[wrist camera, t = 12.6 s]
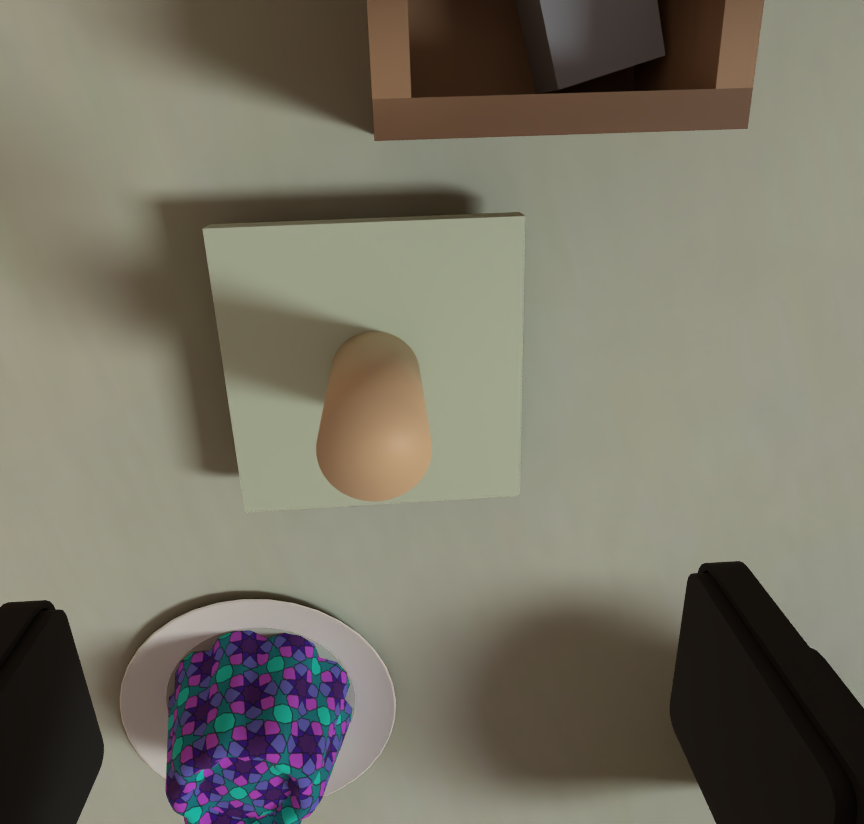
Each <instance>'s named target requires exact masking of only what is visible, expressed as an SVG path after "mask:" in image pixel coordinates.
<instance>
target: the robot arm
mask: <svg viewBox="0 0 864 824" xmlns="http://www.w3.org/2000/svg"><path fill="white" fill-rule="evenodd" d="M670 716H671V722H672V726H673V729H674V731H675V734H676V736H677V738H678V740H679V742H680V745H681V747H682V749H683V751H684V753H685V756H686V758H687V760H688V762H689V764H690V767H691V769H692V771H693V773H694V776H695V778H696V780H697V782H698V784H699V787H700V789H701V791H702V793H703V795H704V798H705V800H706V802H707V804H708V806H709V809H710V811H711V813H712V815H713V817H714V820H715V822H716V824H864V708H863V707H862V706H861V704H860V703H859V702H858V701H857V699H856V698H855V697H854V695H853V694H852V693H851V692H850V690H849V689H848V688H847V687H846V685H845V684H844V683H843V681H842V680H841V679H840V678H839V676H838V675H837V674H836V673H835V671H834V670H833V669H832V667H831V666H830V665H829V664H828V662H827V661H826V660H825V659H824V658H823V657H822V656H821V655H820V654H819V653H818V652H817V651H816V650H814V649H812V648H810V647H809V646H808V645H807V643H806V642H805V641H804V640H803V638H802V637H801V636H800V634H799V633H798V632H797V630H796V629H795V628H794V627H793V625H792V624H791V623H790V621H789V620H788V619H787V618H786V616H785V615H784V614H783V612H782V611H781V610H780V608H779V607H778V606H777V605H776V603H775V602H774V601H773V599H772V598H771V597H770V595H769V594H768V593H767V592H766V590H765V589H764V588H763V586H762V585H761V584H760V583H759V581H758V580H757V579H756V577H755V576H754V575H753V573H752V572H751V571H750V570H749V568H748V567H747V566H746V565H745V564H744V563H743V562H740V561H735V562H717V563H704V564H702V565H701V566H700V568H699V571H698V573H694V574H690V576H689V577H688V581H687V587H686V594H685V601H684V608H683V615H682V622H681V629H680V636H679V643H678V651H677V658H676V665H675V672H674V679H673V686H672V693H671V700H670ZM103 754H104V744H103V739H102V735H101V732H100V729H99V725H98V722H97V718H96V715H95V711H94V708H93V704H92V701H91V698H90V694H89V691H88V687H87V684H86V680H85V677H84V674H83V670H82V667H81V663H80V660H79V656H78V653H77V649H76V646H75V643H74V639H73V636H72V632H71V629H70V625H69V622H68V618H67V616H66V614H65V612H64V611H63V610H55V607H54V605H53V604H52V603H51V602H50V601H46V600H42V601H25V602H8V603H6V604H3V605H2V606H1V607H0V824H76V823H77V821H78V819H79V816H80V814H81V812H82V809H83V807H84V805H85V803H86V800H87V798H88V796H89V793H90V791H91V789H92V786H93V784H94V782H95V780H96V777H97V775H98V773H99V770H100V768H101V765H102V760H103Z"/></svg>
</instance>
